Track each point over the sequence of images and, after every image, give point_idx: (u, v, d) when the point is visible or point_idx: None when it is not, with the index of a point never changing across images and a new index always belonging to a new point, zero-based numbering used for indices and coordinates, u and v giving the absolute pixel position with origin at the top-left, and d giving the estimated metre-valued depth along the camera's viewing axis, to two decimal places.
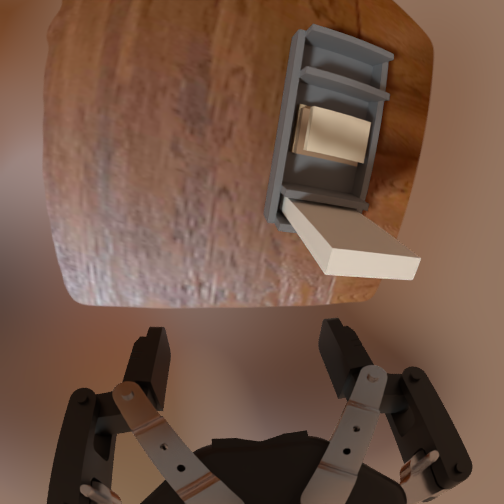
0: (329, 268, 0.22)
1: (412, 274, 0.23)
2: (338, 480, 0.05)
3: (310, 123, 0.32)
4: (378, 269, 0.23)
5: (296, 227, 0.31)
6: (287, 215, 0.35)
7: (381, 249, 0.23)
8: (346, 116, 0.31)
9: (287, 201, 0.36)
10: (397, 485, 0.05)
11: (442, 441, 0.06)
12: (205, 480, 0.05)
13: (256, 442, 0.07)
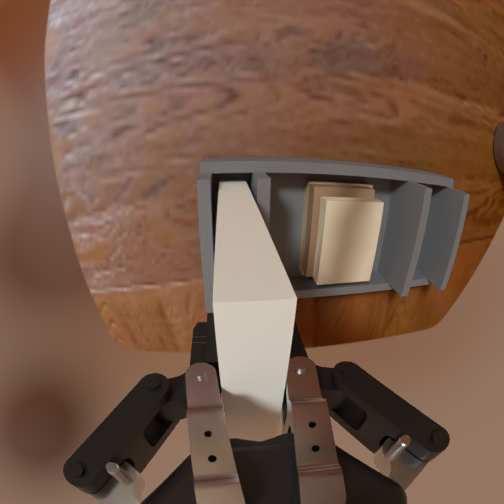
0: (233, 308, 0.08)
1: None
2: (326, 477, 0.05)
3: (361, 200, 0.24)
4: (245, 404, 0.10)
5: (224, 205, 0.17)
6: (223, 189, 0.21)
7: None
8: (374, 247, 0.25)
9: (242, 186, 0.22)
10: (397, 485, 0.05)
11: (406, 423, 0.07)
12: (205, 480, 0.05)
13: (256, 441, 0.07)
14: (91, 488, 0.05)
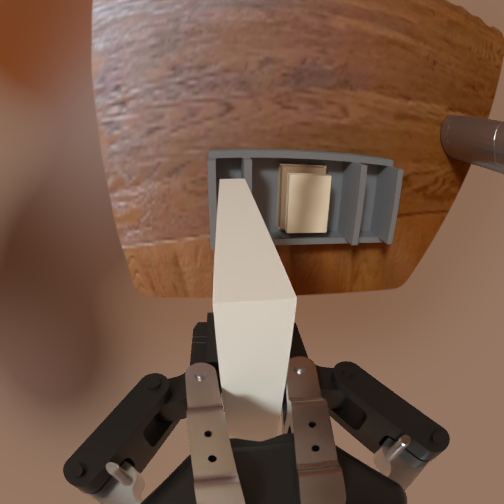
0: (234, 308, 0.08)
1: None
2: (326, 477, 0.05)
3: (314, 174, 0.36)
4: (245, 403, 0.10)
5: (224, 205, 0.17)
6: (223, 190, 0.21)
7: None
8: (327, 207, 0.38)
9: (242, 186, 0.22)
10: (397, 485, 0.05)
11: (406, 423, 0.07)
12: (205, 480, 0.05)
13: (256, 441, 0.07)
14: (91, 488, 0.05)
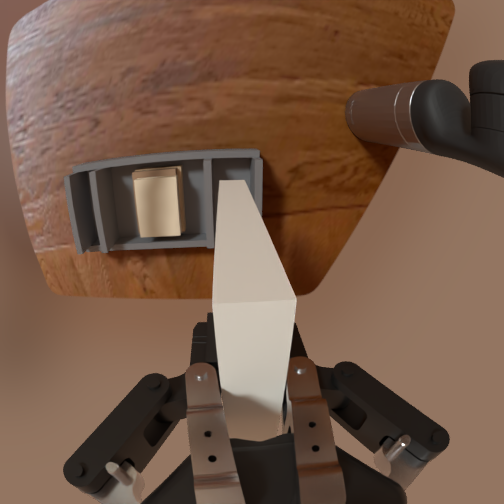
0: (233, 309, 0.08)
1: None
2: (326, 477, 0.05)
3: (159, 177, 0.35)
4: (245, 405, 0.10)
5: (224, 206, 0.17)
6: (223, 191, 0.21)
7: None
8: (176, 209, 0.37)
9: (242, 187, 0.22)
10: (397, 485, 0.05)
11: (406, 423, 0.07)
12: (205, 480, 0.05)
13: (256, 441, 0.07)
14: (91, 488, 0.05)
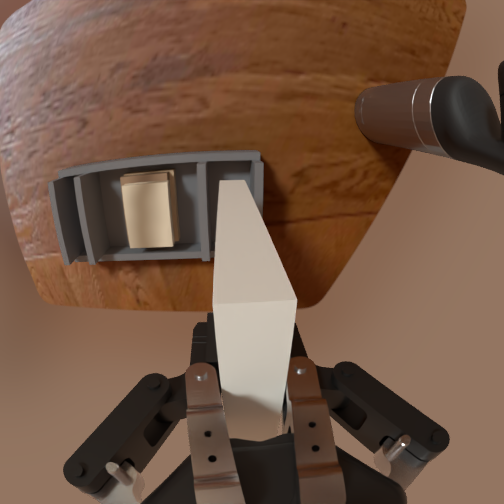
0: (234, 310, 0.08)
1: None
2: (326, 477, 0.05)
3: (149, 183, 0.31)
4: (245, 405, 0.10)
5: (224, 206, 0.17)
6: (223, 191, 0.21)
7: None
8: (168, 218, 0.33)
9: (242, 187, 0.22)
10: (397, 485, 0.05)
11: (406, 423, 0.07)
12: (205, 480, 0.05)
13: (256, 441, 0.07)
14: (91, 488, 0.05)
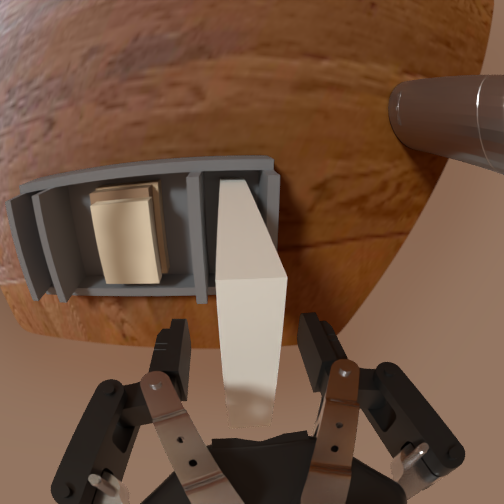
0: (233, 285, 0.09)
1: (239, 424, 0.13)
2: (333, 478, 0.05)
3: (124, 201, 0.23)
4: (243, 378, 0.11)
5: (225, 201, 0.18)
6: (223, 187, 0.22)
7: None
8: (151, 248, 0.25)
9: (241, 184, 0.24)
10: (397, 485, 0.05)
11: (429, 432, 0.06)
12: (205, 480, 0.05)
13: (256, 441, 0.07)
14: None
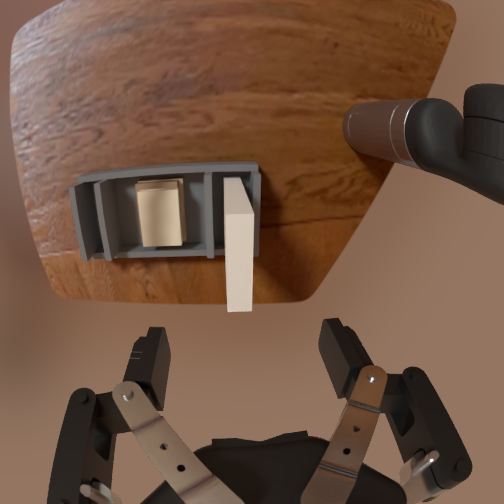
0: (232, 217, 0.23)
1: (233, 308, 0.27)
2: (338, 480, 0.05)
3: (161, 190, 0.37)
4: (236, 269, 0.25)
5: (227, 189, 0.32)
6: (226, 182, 0.36)
7: None
8: (178, 221, 0.38)
9: (237, 180, 0.38)
10: (397, 485, 0.05)
11: (442, 441, 0.06)
12: (205, 480, 0.05)
13: (256, 441, 0.07)
14: None
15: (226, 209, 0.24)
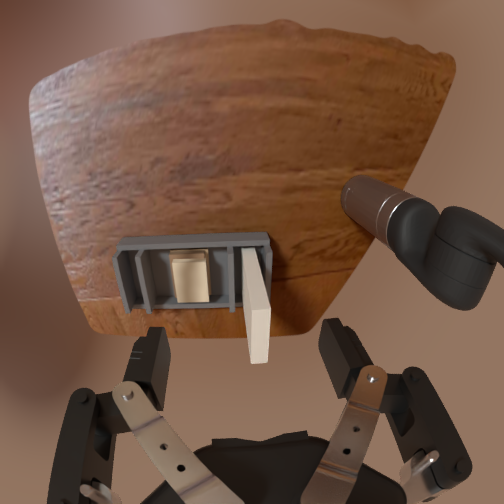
0: (256, 311, 0.34)
1: (255, 361, 0.38)
2: (338, 480, 0.05)
3: (192, 261, 0.47)
4: (257, 339, 0.36)
5: (247, 270, 0.43)
6: (245, 257, 0.47)
7: None
8: (206, 284, 0.49)
9: (253, 253, 0.48)
10: (397, 485, 0.05)
11: (442, 441, 0.06)
12: (205, 480, 0.05)
13: (256, 442, 0.07)
14: None
15: (251, 303, 0.35)
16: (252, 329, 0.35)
